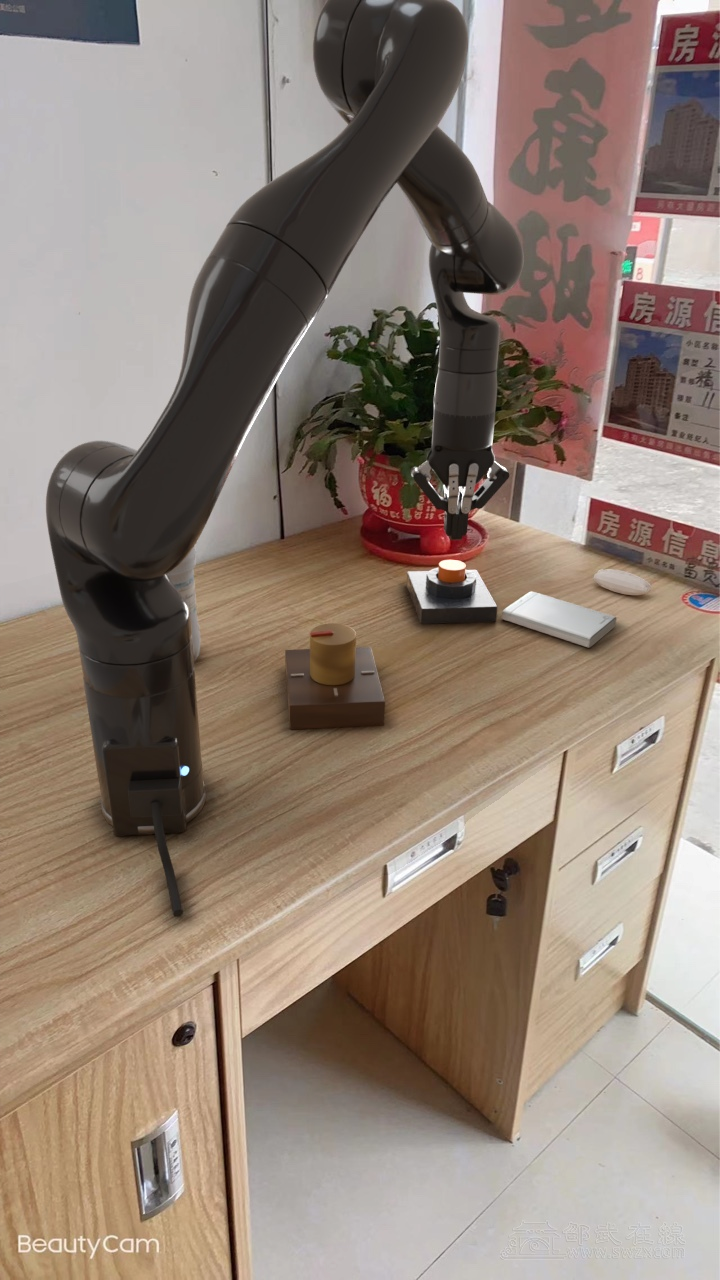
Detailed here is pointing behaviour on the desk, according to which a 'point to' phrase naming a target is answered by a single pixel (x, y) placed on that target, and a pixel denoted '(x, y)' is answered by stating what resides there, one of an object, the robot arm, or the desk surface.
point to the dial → (332, 654)
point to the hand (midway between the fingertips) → (455, 537)
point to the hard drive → (559, 618)
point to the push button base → (450, 598)
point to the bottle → (188, 594)
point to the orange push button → (451, 571)
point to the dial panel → (333, 694)
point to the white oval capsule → (622, 582)
